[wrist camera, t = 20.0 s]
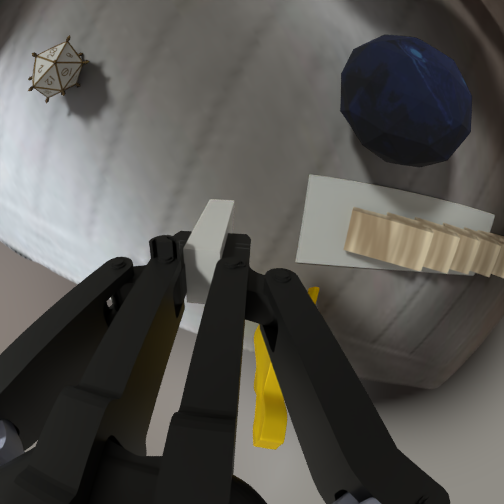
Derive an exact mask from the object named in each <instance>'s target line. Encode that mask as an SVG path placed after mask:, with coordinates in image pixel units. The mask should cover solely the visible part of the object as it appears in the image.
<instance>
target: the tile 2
mask: <svg viewBox="0 0 504 504" xmlns="http://www.w3.org/2000/svg"><path fill="white" fill-rule="evenodd" d="M387 216H390V217H394V218H397V219H401V220H404V221H408V222H411V223H414V224H418V225H421V226H424V227H428V228H431V229H432V231H433V233H434V234H433V237H432V241H431V244H430V247H429V250H428V253H427V256H426V259H425V261H424V264H423V267H426V268H430V269H433V270H436V271H440V272H443V273H446V274H447V273H448V271H449V268H450V266H451V263H452V260H453V258H454V255H455V252H456V249H457V246H458V243H459V240H460V237H459V236H458V234H457V233H454V232H451V231H448V230H445V229H442V228H439V227H436V226H433V225H429V224H426V223H423V222H420V221H416V220H413V219H410V218H406V217H403V216H400V215H396V214H392V213H389V212H387Z"/></svg>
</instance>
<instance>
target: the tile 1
mask: <svg viewBox="0 0 504 504" xmlns="http://www.w3.org/2000/svg"><path fill="white" fill-rule="evenodd" d="M433 234H434V233H433V231H432V229H431V228H428V227H424V226H421V225H418V224H414V223H411V222H408V221H404V220H401V219H397V218H394V217H390V216H387V215H383V214H379V213H376V212H372V211H368V210H364V209H361V208H357V207H353V210H352V214H351V219H350V223H349V228H348V232H347V237H346V241H345V245H344V249H343V250H346V251H349V252H353V253H356V254H360V255H364V256H367V257H371V258H375V259H378V260H382V261H385V262H389V263H392V264H396V265H399V266H403V267H406V268H410V269H413V270H416V271H420V272H421V270H422V267H423V264H424V261H425V259H426V256H427V253H428V250H429V247H430V244H431V241H432V237H433Z"/></svg>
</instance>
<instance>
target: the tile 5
mask: <svg viewBox="0 0 504 504" xmlns="http://www.w3.org/2000/svg"><path fill="white" fill-rule="evenodd" d="M464 230H467V231H470V232H472V233H475V234H478V235H480V236H483V237H486V238H488V239H491V240H493V241H496V242H498V243H499V245H500V246H501V249H500V252H499V254H498V257H497V260H496V262H495V265H494V267H493V270H492V272H491V274H493V275H496V276H499V277H501V278H504V242H502V241H500V240H497V239H495V238H492V237H490V236H487V235H485V234H482V233H480V232H477V231H474V230H472V229H469V228H466V227H464Z"/></svg>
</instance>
